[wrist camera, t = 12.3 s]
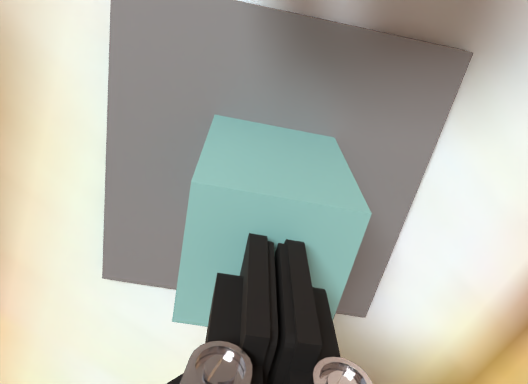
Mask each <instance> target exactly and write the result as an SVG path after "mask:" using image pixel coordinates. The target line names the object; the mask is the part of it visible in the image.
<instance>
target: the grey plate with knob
mask: <svg viewBox="0 0 528 384" xmlns="http://www.w3.org/2000/svg"><path fill="white" fill-rule="evenodd" d="M472 55H473V53H472V52H469V51H465V50H461V49H456V48H452V47H447V46H442V45H438V44H433V43H429V42H424V41H420V40H415V39H410V38H406V37H401V36H397V35H392V34H388V33H383V32H378V31H374V30H369V29H365V28H360V27H356V26H351V25H347V24H342V23H337V22H333V21H328V20H324V19H319V18H315V17H310V16H305V15H301V14H296V13H292V12H287V11H283V10H278V9H273V8H269V7H264V6H260V5H255V4H251V3H246V2H241V1H237V0H111V11H110V44H109V76H108V109H107V142H106V175H105V208H104V241H103V274H102V278H103V279H110V280H117V281H123V282H130V283H137V284H143V285H150V286H157V287H164V288H170V289H177V282H178V275H179V267H180V260H181V252H182V245H183V237H184V230H185V223H186V215H187V208H188V200H189V193H190V186H191V180H192V178H193V175H194V172H195V169H196V166H197V163H198V161H199V158H200V155H201V152H202V149H203V146H204V143H205V141H206V138H207V135H208V132H209V129H210V126H211V123H212V121H213V118H214V115H220V116H225V117H231V118H236V119H241V120H246V121H251V122H257V123H262V124H267V125H272V126H277V127H282V128H288V129H293V130H298V131H303V132H308V133H314V134H319V135H324V136H329V137H334V138H335V139H336V141H337V144H338V146H339V148H340V150H341V152H342V154H343V156H344V158H345V160H346V162H347V164H348V166H349V168H350V170H351V172H352V174H353V176H354V178H355V180H356V182H357V184H358V186H359V189H360V191H361V193H362V195H363V197H364V199H365V201H366V203H367V205H368V207H369V209H370V211H371V213H372V214H371V217H370V220H369V223H368V225H367V228H366V231H365V233H364V236H363V239H362V242H361V244H360V247H359V250H358V253H357V255H356V258H355V261H354V264H353V266H352V269H351V272H350V274H349V277H348V280H347V283H346V285H345V288H344V291H343V294H342V296H341V299H340V302H339V304H338V307H337V310H336V313H338V314H345V315H352V316H359V317H366V314H367V312H368V309H369V307H370V304H371V302H372V300H373V297H374V295H375V292H376V290H377V287H378V285H379V282H380V280H381V278H382V275H383V273H384V270H385V268H386V265H387V263H388V260H389V258H390V255H391V253H392V251H393V248H394V246H395V243H396V241H397V238H398V236H399V233H400V231H401V229H402V226H403V224H404V221H405V219H406V216H407V214H408V211H409V209H410V207H411V204H412V202H413V199H414V197H415V194H416V192H417V189H418V187H419V185H420V182H421V180H422V177H423V175H424V172H425V170H426V167H427V165H428V163H429V160H430V158H431V155H432V153H433V150H434V148H435V145H436V143H437V141H438V138H439V136H440V133H441V131H442V128H443V126H444V123H445V121H446V119H447V116H448V114H449V111H450V109H451V106H452V104H453V101H454V99H455V97H456V94H457V92H458V89H459V87H460V84H461V82H462V79H463V77H464V75H465V72H466V70H467V67H468V65H469V62H470V60H471V57H472Z"/></svg>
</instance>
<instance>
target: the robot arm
mask: <svg viewBox="0 0 528 384" xmlns="http://www.w3.org/2000/svg"><path fill="white" fill-rule="evenodd" d="M167 384H373V383H372V381H371V380H370V378H369V376H368V375H367V373H366V372H365V371H364V370H363V369H362V368H361V367H359V366H358V365H356V364H355V363H353V362H352V361H349V360H347V359H344V358H340V353H339V348H338V344H337V339H336V334H335V330H334V325H333V320H332V316H331V311H330V306H329V302H328V297H327V293H326V290H325V289H321V288H315V287H312V282H311V277H310V271H309V265H308V259H307V253H306V248H305V243H304V242H301V241H295V240H288V239H286V240H285V242H284V244H283V243H278V245H277V249H276V252H275V256H274V242H271V241H268V238H267V236H264V235H258V234H252V233H249V235H248V239H247V244H246V249H245V253H244V258H243V262H242V267H241V272H240V276H237V275H231V274H224V273H218V272H217V276H216V282H215V287H214V292H213V298H212V304H211V310H210V316H209V322H208V328H207V335H206V341H205V344H203V345H200V346H199V347H198V348H197V349H196V350H194V352H193V353H192V355H191V357H190V358H189V361H188V364H187V366H186V369H185V371H184V373H183V374H182V375H180V376H178V377H177V378H175V379H173V380H172V381H170V382H168V383H167Z"/></svg>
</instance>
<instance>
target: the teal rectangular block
mask: <svg viewBox="0 0 528 384" xmlns="http://www.w3.org/2000/svg"><path fill="white" fill-rule="evenodd" d="M371 214H372V213H371V211H370V209H369V207H368V205H367V203H366V201H365V199H364V197H363V195H362V193H361V191H360V189H359V186H358V184H357V182H356V180H355V178H354V176H353V174H352V172H351V170H350V168H349V166H348V164H347V162H346V160H345V158H344V156H343V154H342V152H341V150H340V148H339V146H338V144H337V141H336V139H335V138H334V137H329V136H324V135H319V134H314V133H308V132H303V131H298V130H293V129H288V128H282V127H277V126H272V125H267V124H262V123H257V122H251V121H246V120H241V119H236V118H231V117H225V116H220V115H214V118H213V121H212V123H211V126H210V129H209V132H208V135H207V138H206V141H205V143H204V146H203V149H202V152H201V155H200V158H199V161H198V163H197V166H196V169H195V172H194V175H193V178H192V180H191V186H190V193H189V200H188V208H187V215H186V223H185V230H184V237H183V245H182V252H181V260H180V267H179V275H178V282H177V289H176V297H175V304H174V312H173V319H172V322H178V323H185V324H192V325H199V326H206V327H208V322H209V316H210V310H211V304H212V298H213V292H214V287H215V282H216V276H217V272H218V273H224V274H231V275H237V276H240V272H241V267H242V262H243V258H244V253H245V249H246V244H247V239H248V235H249V233H252V234H258V235H264V236H267V238H268V241H271V242H274V256H275V252H276V249H277V245H278V243H283V244H284V242H285V240H286V239H288V240H295V241H301V242H304V243H305V248H306V253H307V259H308V265H309V271H310V277H311V282H312V287H315V288H321V289H325V290H326V293H327V297H328V302H329V306H330V311H331V316H332V320H333V318H334V315H335V313H336V310H337V307H338V304H339V302H340V299H341V296H342V294H343V291H344V288H345V285H346V283H347V280H348V277H349V274H350V272H351V269H352V266H353V264H354V261H355V258H356V255H357V253H358V250H359V247H360V244H361V242H362V239H363V236H364V233H365V231H366V228H367V225H368V223H369V220H370V217H371Z"/></svg>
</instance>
